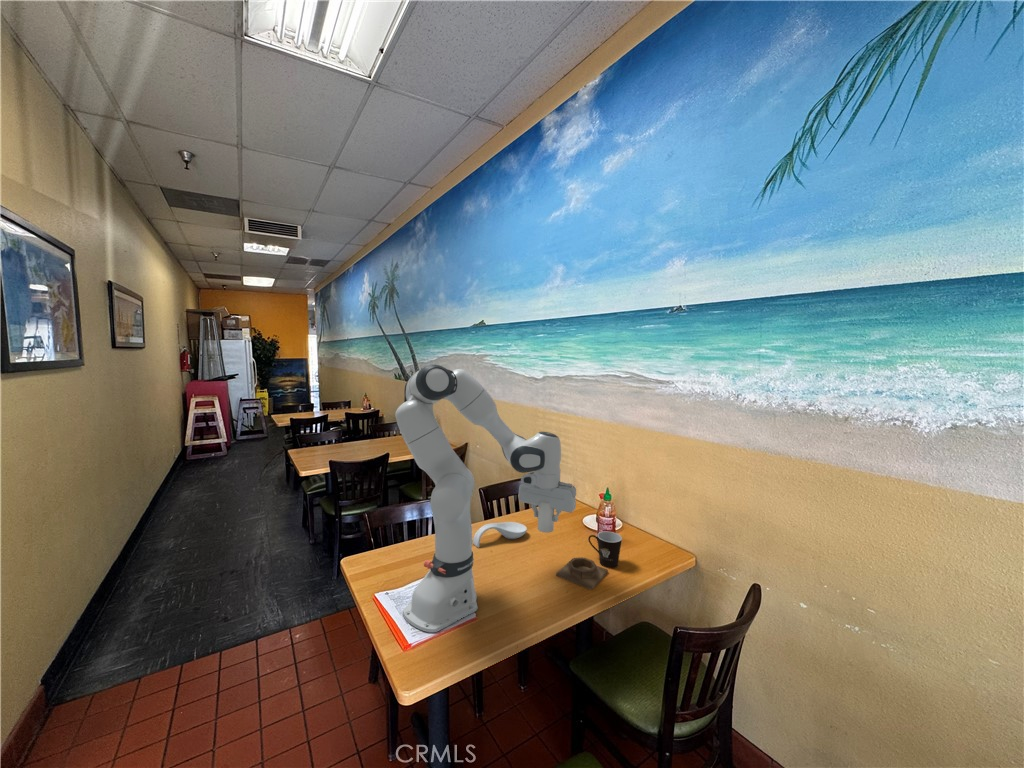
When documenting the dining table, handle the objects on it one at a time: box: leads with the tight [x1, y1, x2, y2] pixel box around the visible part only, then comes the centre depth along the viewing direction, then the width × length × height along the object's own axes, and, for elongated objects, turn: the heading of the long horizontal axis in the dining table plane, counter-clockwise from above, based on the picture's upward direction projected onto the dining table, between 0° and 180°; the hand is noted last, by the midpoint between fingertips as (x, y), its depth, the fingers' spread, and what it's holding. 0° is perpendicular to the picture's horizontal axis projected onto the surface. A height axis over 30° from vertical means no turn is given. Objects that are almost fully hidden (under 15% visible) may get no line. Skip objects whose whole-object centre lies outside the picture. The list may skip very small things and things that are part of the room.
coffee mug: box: [587, 530, 623, 569], centre depth 140 cm, size 12×9×10 cm
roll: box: [537, 501, 555, 534], centre depth 132 cm, size 5×5×10 cm
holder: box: [555, 556, 609, 591], centre depth 132 cm, size 13×13×4 cm
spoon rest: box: [472, 521, 528, 548], centre depth 157 cm, size 24×12×7 cm, turn 124°
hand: (546, 518), depth 132 cm, fingers closed on roll, 5 cm apart
